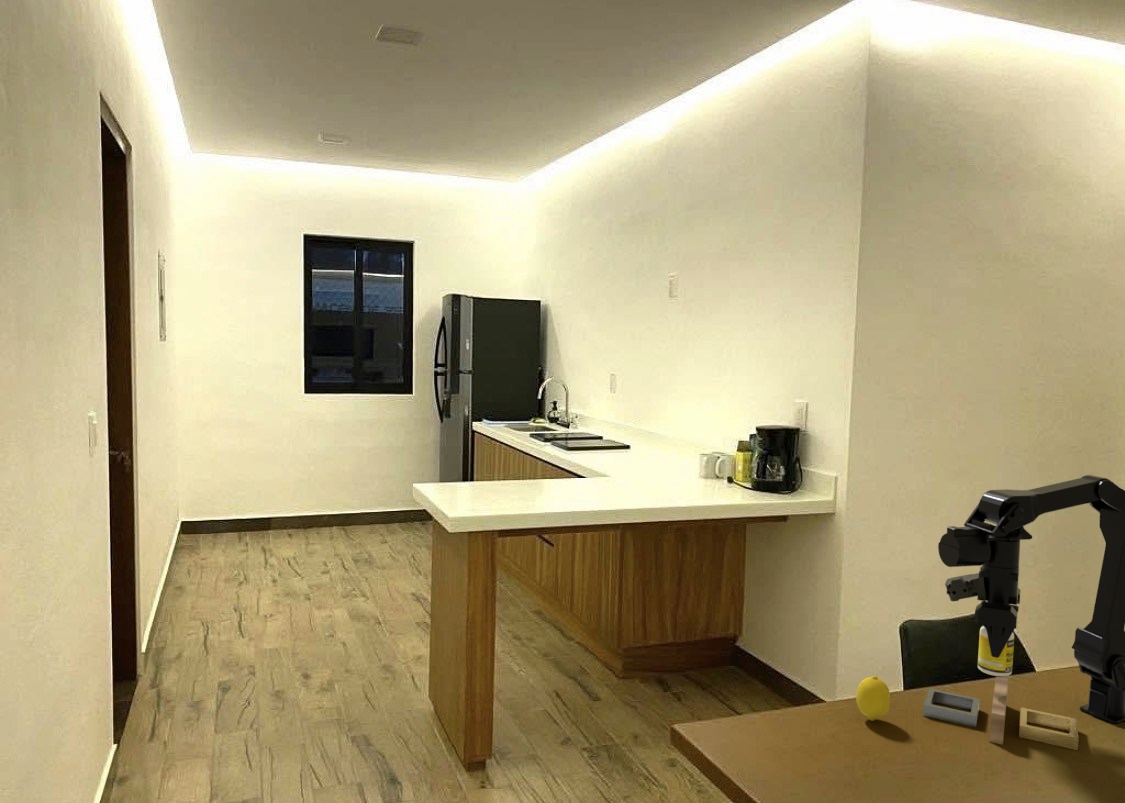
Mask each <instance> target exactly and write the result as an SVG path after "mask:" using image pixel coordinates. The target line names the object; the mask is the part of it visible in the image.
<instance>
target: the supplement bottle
mask: <svg viewBox="0 0 1125 803" xmlns="http://www.w3.org/2000/svg"><path fill="white" fill-rule="evenodd" d="M1014 642H1015V633H1014V632H1013V633H1012V634H1011V636H1010V638H1009V640H1008V642H1007V643H1006V645H1005V647H1004V649H1003V651H1002V652H1001V654H1000V656H999V657H998V658H996V657H992V655H991V650H990V645H989V640H988V635H987V631H986V628H985V627H984V626H983V625H982V626H981V627H980V629H979V640H978V655H977V668H978V670H980V671H981V672H982V673H984V674H987V675H990V676H995V677H1009V676H1010V675H1012V673H1013V664H1014V662H1013V661H1014V651H1015V650H1014V648H1015V643H1014Z"/></svg>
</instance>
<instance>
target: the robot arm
mask: <svg viewBox="0 0 1125 803" xmlns="http://www.w3.org/2000/svg"><path fill="white" fill-rule="evenodd" d="M1086 504H1088V505H1089V506H1090V507H1091V508H1092V509H1093V510H1094V511H1096V512H1097V513H1099V529H1100V531H1101V534H1102V537H1103V540H1104V542H1105V548H1104V553H1103V558H1102V564H1101V569H1100V574H1099V580H1098V584H1097V592H1096V597H1095V602H1094V607H1093V613H1092V619H1091V621H1090V622H1089V623H1088V624H1086V626H1085V627H1084V628H1082V627H1077V628H1075V631H1074V635H1075V636H1074V641H1073V644H1072V646H1071V649H1073V650H1074V652H1073V655H1074V656H1073V658H1074V659H1076V661H1077V662H1078V667H1079V671H1080V673H1082V674H1085V675H1087V676H1089V677H1090V681H1089V691H1088V692H1089V693H1088V703H1087V704H1084V705H1080V706H1079V708H1078V709H1079V711H1081V712H1085V713H1086V714H1087V713H1088V714H1089V715H1092V716H1095V717H1098V718H1099V719H1103V720H1105V721H1107V722H1110V723H1113V724H1118V723H1122V722H1125V489H1123V488H1121V487H1120V486H1118V485H1117V484H1116V483H1115V482H1113V481H1111V479H1109V478H1107V477H1101V476H1097V475H1092V474H1087V475H1083V476H1081V477H1078V478H1075V479H1071V480H1066V481H1062V482H1057V483H1052V484H1049V485H1044V486H1039V487H1036V488H1031V489H1025V490H1024V489H1023V490H1022V489H990V490H987V491H985V492H984V493H982V496H981V498H980V499H979V502H978V504H977V505H976V507H975V508H974V509H973V510H972V512H971V514H970V515H969V516H968V518H967V519H966V521H965V522H964V524H963V525H964V526H954V525H952V526H949V525H948V526H947V527H946V533H944V534H943V535H941V538H940V539H939V540H940V541H939V542H938V546H937V547H938V548H937V549H938V556H939V558H940V560H941V562H942V563H943V564H944V565H945V566H947V568H948V567H949V568H957V567H977V566H978V567H979V568H980V569H979V571H978V573H970V574H964V575H960V576H955V577H949V578H947V579H946V581H945V583H944V585H945V589H946V595H948V597H949V600H950V601H951V602H959V600H963V599H969V598H974V597H977V601H981V602H980V603H978V604H977V605H976V607H975V609H974V623H976V624H979V625H981V626H982V627H983V626H984V627H985V628H986V631H987V635H988V640H989V645H990V650H991V655H992V657H996V658H998V657H999V656H1000V654H1001V652H1002V651H1003V649H1004V647H1005V645H1006V643H1007V642H1008V640H1009V638H1010V636H1011V634H1012V633H1014V631H1015V629H1017V627H1018V613H1019V609H1020V606H1018V605H1020V603H1021V593H1022V592H1021V589H1020V588H1019V577H1020V554H1021V553H1020V551H1021V550H1020V549H1021V541H1024V540H1032V539H1033V535H1032V534H1030V532H1028V530H1026V529H1025V528H1024V527H1025V526H1027V525H1029V524H1031V523H1033V522H1034V521H1036V520H1037V518H1038V517H1039V516H1041V515H1044V514H1048V513H1051V512H1057V511H1060V510H1065V509H1069V508H1073V507H1078V506H1082V505H1086ZM994 524H995V525H994Z"/></svg>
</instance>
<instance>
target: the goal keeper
mask: <svg viewBox="0 0 1125 803" xmlns="http://www.w3.org/2000/svg"><path fill="white" fill-rule="evenodd" d="M1028 723H1030V724H1035V725H1039V726H1033V725H1029V724H1028ZM1040 726H1043V727H1040ZM1018 727H1019V729H1018V731H1019V732H1018V737H1019V738H1022V739H1026V740H1031V741H1035V742H1041V743H1044V744H1047V745H1048V744H1049V745H1052V746H1057V747H1062V748H1066V749H1071V750H1075V751H1078V748H1079V730H1078V721H1077V718H1075V717H1074V718H1073V717H1068V716H1064V715H1060V714H1055V713H1054V714H1053V713H1050V712H1045V711H1040V710H1035V709H1029V708H1026V707H1020V711H1019V726H1018ZM1044 727H1049V728H1054V729H1059V730H1063V731H1068V733H1067V732H1062V731H1057V730H1053V729H1047V728H1044Z"/></svg>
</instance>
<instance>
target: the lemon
mask: <svg viewBox="0 0 1125 803" xmlns="http://www.w3.org/2000/svg"><path fill="white" fill-rule="evenodd" d="M855 698H856V700H855V701H856V704H857V708H858V709H859V711H860V712H861V714H862V715H863V716H865V717H867V718H868V719H869V721H871V722H874V721H875V720H877V719H880V718H881V719H882V718H883V717H884V716H885V715H886V714H887V713H888V711H889V709H890V705H891V694H890V690H889V687H888V685H887V684H886V682H884V681H883V680H882V679H881V678H879V677H878V676H876V675H872V676H869V677H866V678H864V679H863V680H861V681H860V683H859V685H858V687H857V690H856V697H855Z"/></svg>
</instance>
